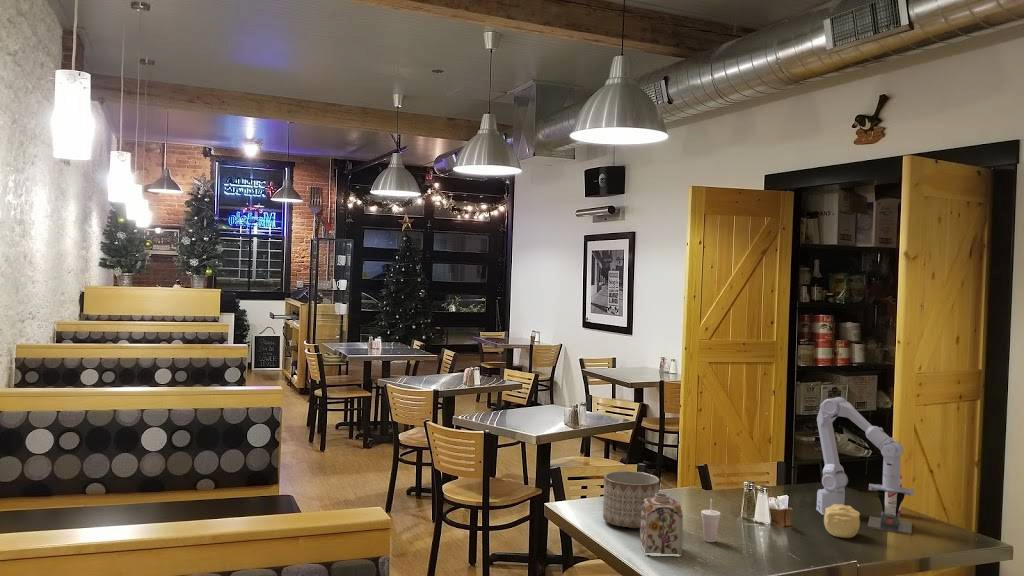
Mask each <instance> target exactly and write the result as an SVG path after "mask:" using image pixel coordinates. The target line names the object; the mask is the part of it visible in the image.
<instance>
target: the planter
mask: <svg viewBox="0 0 1024 576" xmlns="http://www.w3.org/2000/svg"><path fill="white" fill-rule="evenodd" d="M656 493H660V478H659V477H658V476H656V475H654V474H650V473H646V472H642V471H641V472H640V471H633V470H617V471H610V472H607V473H605V474H604V475H603V500H602V501H603V502H602V503H603V506H602V507H603V508H602V518H603V520H604V521H605V522H606V523H608V524H611V525H614V526H617V527H620V526H622V527H621V528H624V527H629V528H628V529H640V526H641V504H642V502H643V500H644V499H646V498H649V497H655V494H656Z"/></svg>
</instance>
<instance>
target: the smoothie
mask: <svg viewBox="0 0 1024 576" xmlns="http://www.w3.org/2000/svg"><path fill="white" fill-rule="evenodd" d="M709 500H710V503H709V509H703V510H701V511H700V515H701V518H702V519H701V520H702V521H701V523H702V531H703V533H702V534H703V540H704V539H706V540H709V541H713V540H717V535H718V527H719V523H720V517H721V512H719V511H718V510H714V509H713V498H710V499H709Z"/></svg>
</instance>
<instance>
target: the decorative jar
mask: <svg viewBox="0 0 1024 576" xmlns="http://www.w3.org/2000/svg"><path fill="white" fill-rule="evenodd" d="M683 515H684V514H683V509H682V506H681V503H680V501H679V500H677V499H674V498H671V497H670V495H669V494H667V493H664V492H659V493H656V494H655V497H649V498H646V499H644V500H643V502H642V504H641V526H640V528H639V535H640V536H639V542H640V541H641V543H642V546H643V548H644V550H645V553H661V554H679V555H683V518H684V516H683Z"/></svg>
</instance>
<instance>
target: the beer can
mask: <svg viewBox="0 0 1024 576" xmlns="http://www.w3.org/2000/svg"><path fill="white" fill-rule="evenodd" d="M900 487H901V488H903V476H902V475H901V472H900ZM885 505H890V506H896V505H897V493H890V492H885ZM898 513H899V515H901V514H902V504H901V505H900V507H899V510H898Z"/></svg>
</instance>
